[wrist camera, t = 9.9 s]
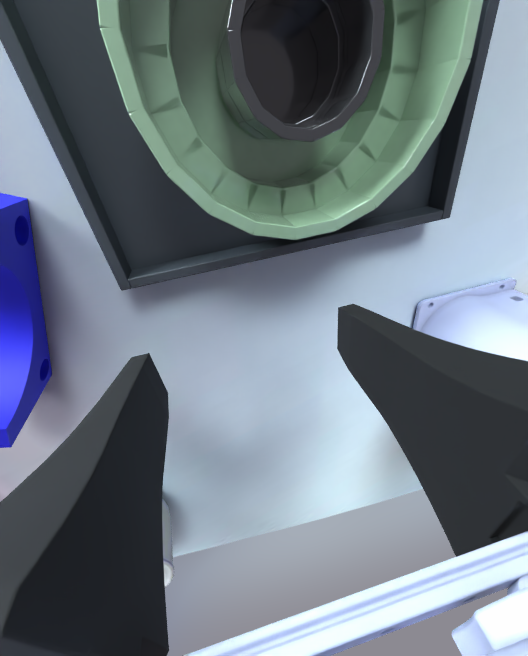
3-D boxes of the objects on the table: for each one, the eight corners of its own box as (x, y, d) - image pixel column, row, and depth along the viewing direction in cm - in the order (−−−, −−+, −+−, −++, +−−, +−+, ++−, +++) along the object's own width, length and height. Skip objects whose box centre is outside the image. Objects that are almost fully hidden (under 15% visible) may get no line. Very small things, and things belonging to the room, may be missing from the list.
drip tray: (520, -278, 10) (581, -354, 9) (428, 211, 20) (450, 217, 19) (-121, -267, 8) (-197, -367, 7) (126, 277, 18) (121, 291, 16)
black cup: (325, -23, 12) (393, -100, 8) (327, 132, 16) (376, 130, 12) (201, -8, 12) (209, -84, 8) (229, 149, 15) (245, 154, 11)
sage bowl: (412, -173, 11) (563, -380, 7) (379, 192, 19) (440, 208, 14) (62, -151, 10) (-43, -396, 5) (180, 233, 17) (178, 265, 13)
